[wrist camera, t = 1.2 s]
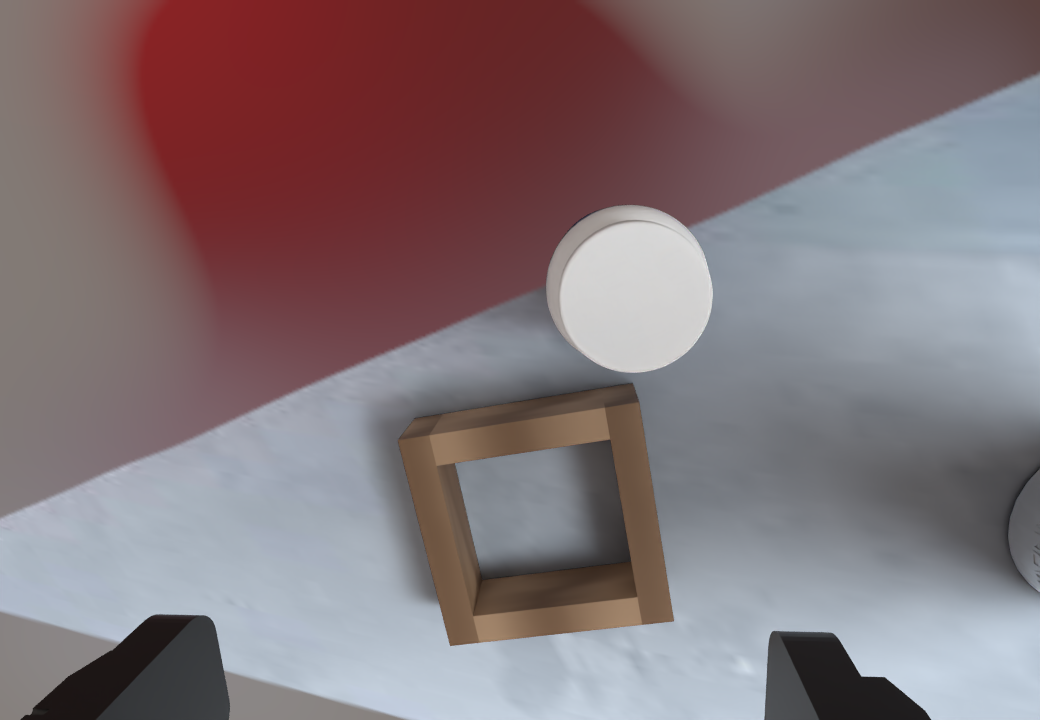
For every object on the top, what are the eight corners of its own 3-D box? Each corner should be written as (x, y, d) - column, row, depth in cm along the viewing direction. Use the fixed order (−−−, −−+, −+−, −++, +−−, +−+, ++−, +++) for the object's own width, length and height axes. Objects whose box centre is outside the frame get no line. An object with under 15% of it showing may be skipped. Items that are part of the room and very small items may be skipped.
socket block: (632, 383, 29) (639, 402, 26) (664, 583, 32) (673, 621, 29) (414, 418, 31) (397, 440, 28) (461, 607, 33) (450, 645, 30)
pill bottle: (695, 225, 27) (761, 233, 18) (655, 344, 29) (696, 413, 19) (572, 191, 27) (570, 180, 18) (538, 312, 29) (520, 363, 19)
